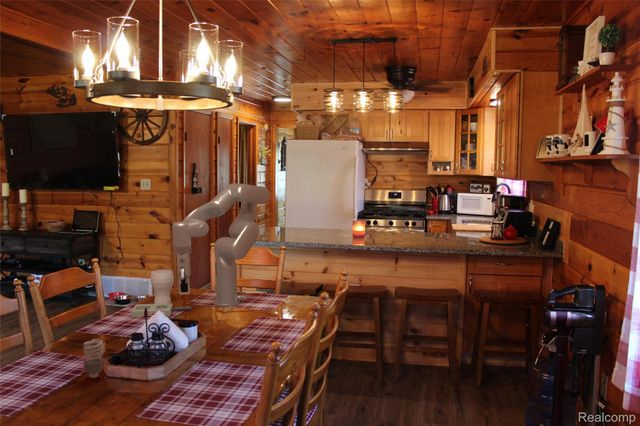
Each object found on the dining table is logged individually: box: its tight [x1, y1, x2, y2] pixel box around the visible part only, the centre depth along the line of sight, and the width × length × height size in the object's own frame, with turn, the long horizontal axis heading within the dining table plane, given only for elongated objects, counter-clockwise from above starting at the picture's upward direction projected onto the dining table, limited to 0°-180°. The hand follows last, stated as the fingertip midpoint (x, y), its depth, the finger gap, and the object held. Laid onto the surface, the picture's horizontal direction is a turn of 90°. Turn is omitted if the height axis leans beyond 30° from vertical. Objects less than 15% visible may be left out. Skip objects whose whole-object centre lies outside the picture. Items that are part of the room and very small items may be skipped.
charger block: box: [178, 276, 191, 296], centre depth 229 cm, size 4×4×7 cm
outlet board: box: [130, 302, 174, 318], centre depth 229 cm, size 16×12×3 cm
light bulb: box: [82, 338, 104, 379], centre depth 157 cm, size 6×6×12 cm
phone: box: [172, 306, 193, 312], centre depth 236 cm, size 8×4×1 cm, turn 98°
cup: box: [150, 269, 175, 304], centre depth 247 cm, size 11×11×15 cm
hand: (184, 290), depth 230 cm, fingers closed on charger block, 4 cm apart
